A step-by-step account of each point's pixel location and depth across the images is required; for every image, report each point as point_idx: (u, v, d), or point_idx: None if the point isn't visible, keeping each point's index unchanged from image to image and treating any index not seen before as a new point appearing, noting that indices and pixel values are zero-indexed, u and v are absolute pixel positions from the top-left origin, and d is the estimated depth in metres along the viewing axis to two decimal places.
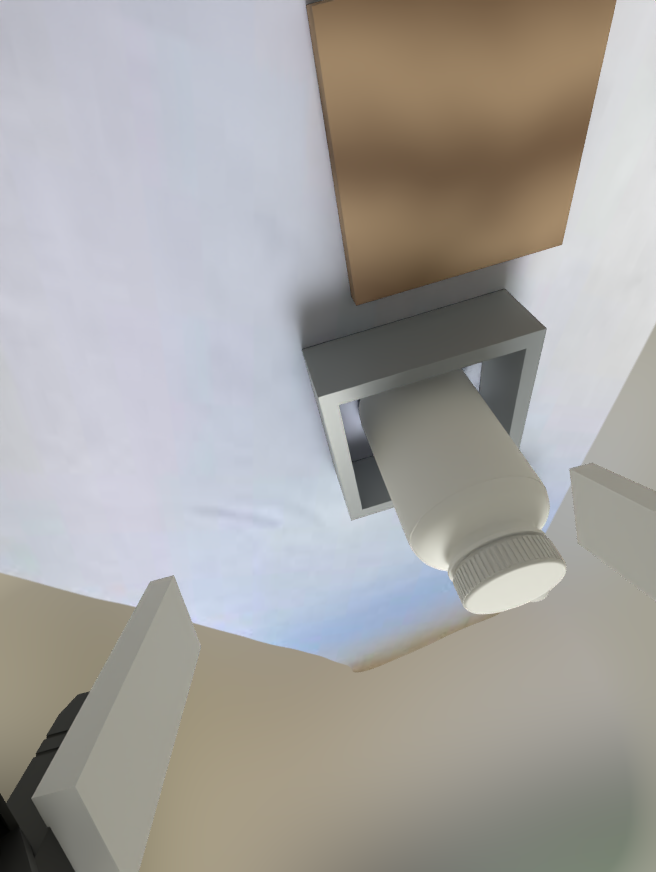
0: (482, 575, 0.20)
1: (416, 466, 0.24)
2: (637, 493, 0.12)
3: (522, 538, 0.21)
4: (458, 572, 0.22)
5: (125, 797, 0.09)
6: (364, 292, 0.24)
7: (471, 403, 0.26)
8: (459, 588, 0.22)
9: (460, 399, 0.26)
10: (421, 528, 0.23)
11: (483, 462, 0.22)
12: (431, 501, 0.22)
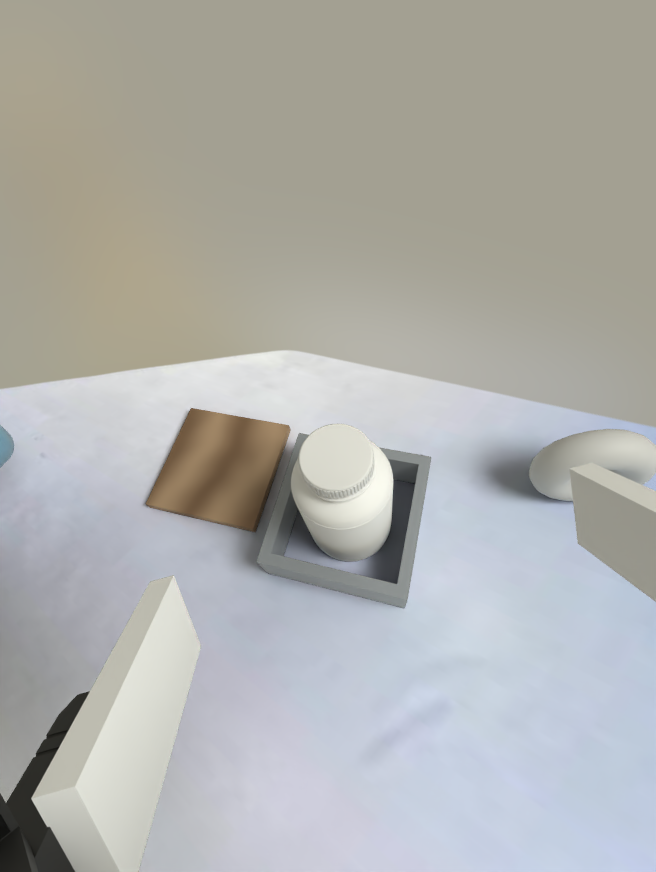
0: (302, 474, 0.30)
1: None
2: (637, 493, 0.12)
3: None
4: (315, 491, 0.31)
5: (125, 797, 0.09)
6: (248, 522, 0.43)
7: None
8: (320, 492, 0.30)
9: None
10: (305, 513, 0.33)
11: None
12: (296, 503, 0.34)
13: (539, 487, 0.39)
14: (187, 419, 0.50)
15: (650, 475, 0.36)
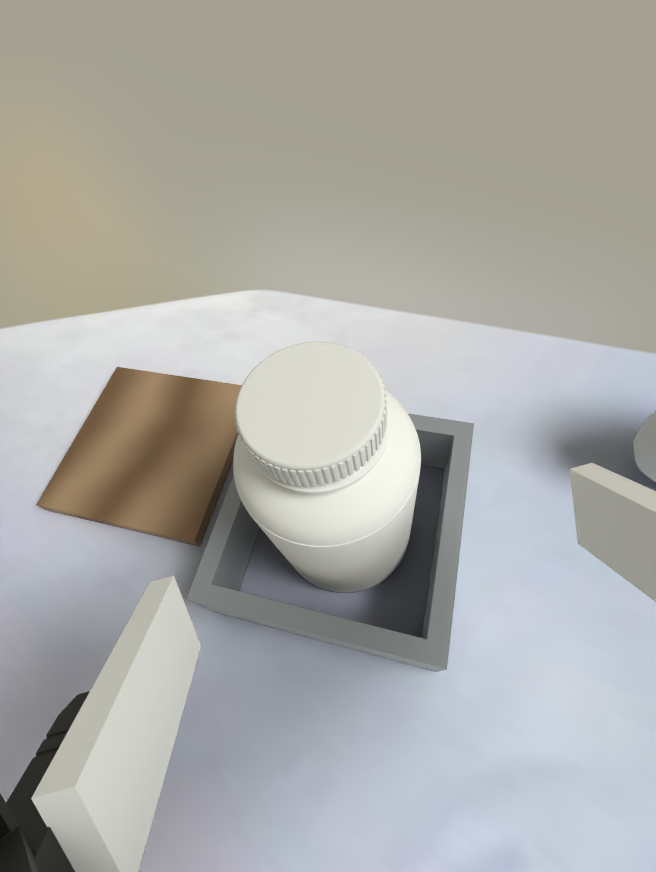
0: None
1: None
2: (637, 493, 0.12)
3: None
4: (268, 473, 0.15)
5: (125, 797, 0.09)
6: (188, 531, 0.28)
7: None
8: (278, 474, 0.15)
9: None
10: (256, 517, 0.17)
11: None
12: None
13: None
14: (110, 382, 0.35)
15: None
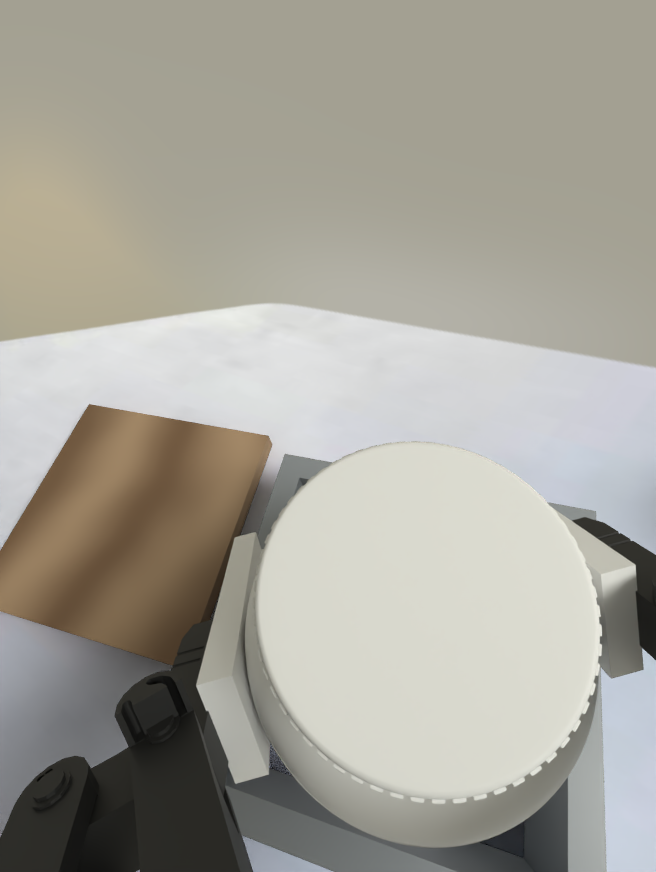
0: None
1: None
2: None
3: None
4: None
5: None
6: (175, 651, 0.20)
7: None
8: None
9: None
10: (291, 771, 0.09)
11: None
12: None
13: None
14: (79, 425, 0.27)
15: None
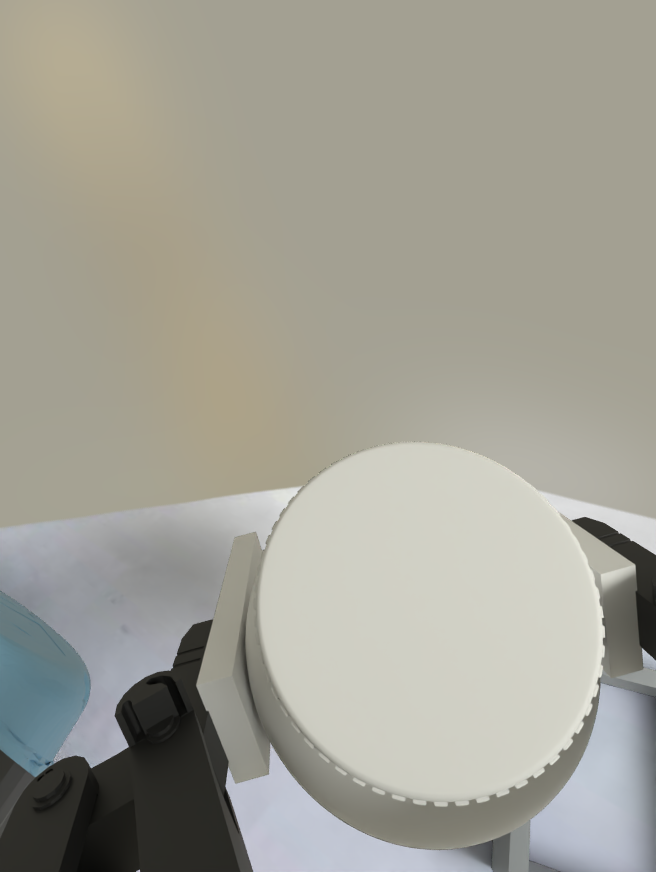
0: None
1: None
2: None
3: None
4: None
5: None
6: None
7: None
8: None
9: None
10: (291, 772, 0.09)
11: None
12: None
13: None
14: None
15: None
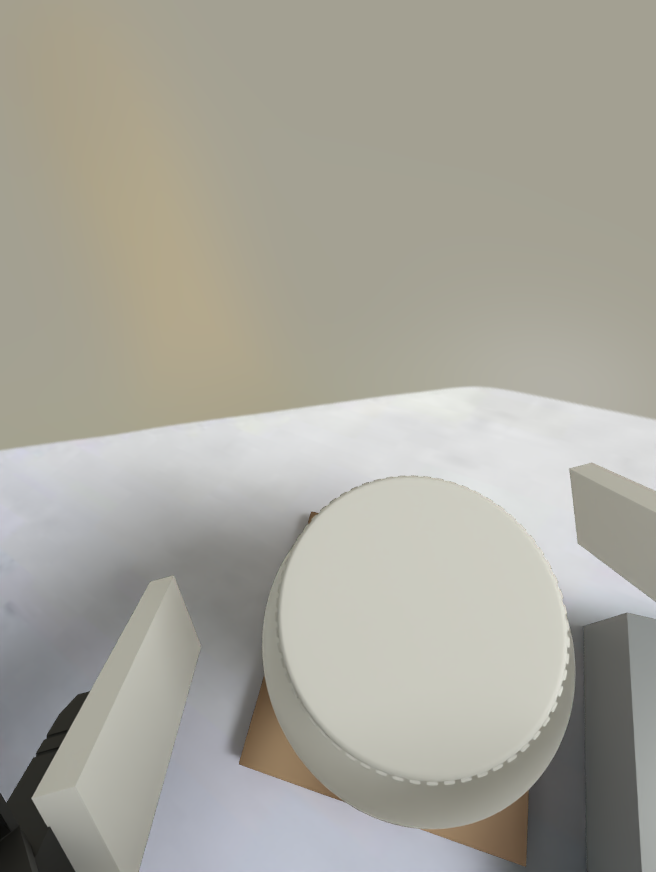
0: None
1: None
2: (637, 493, 0.12)
3: None
4: None
5: (125, 797, 0.09)
6: (509, 842, 0.17)
7: None
8: None
9: None
10: (305, 762, 0.10)
11: None
12: None
13: None
14: None
15: None
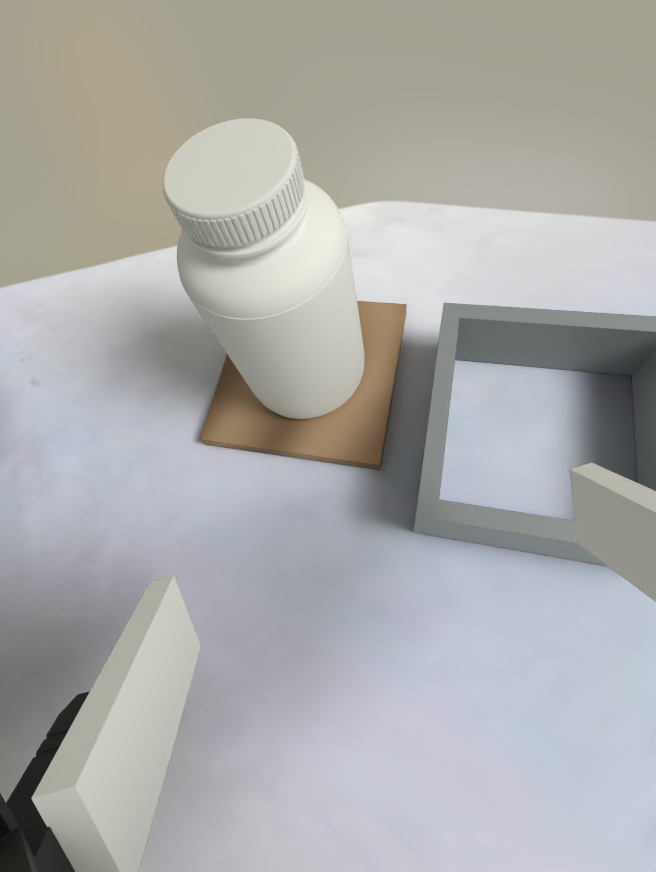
0: (170, 205, 0.17)
1: None
2: (637, 493, 0.12)
3: None
4: (198, 239, 0.17)
5: (125, 797, 0.09)
6: (370, 455, 0.27)
7: None
8: (203, 231, 0.16)
9: None
10: (198, 299, 0.19)
11: None
12: None
13: None
14: None
15: None
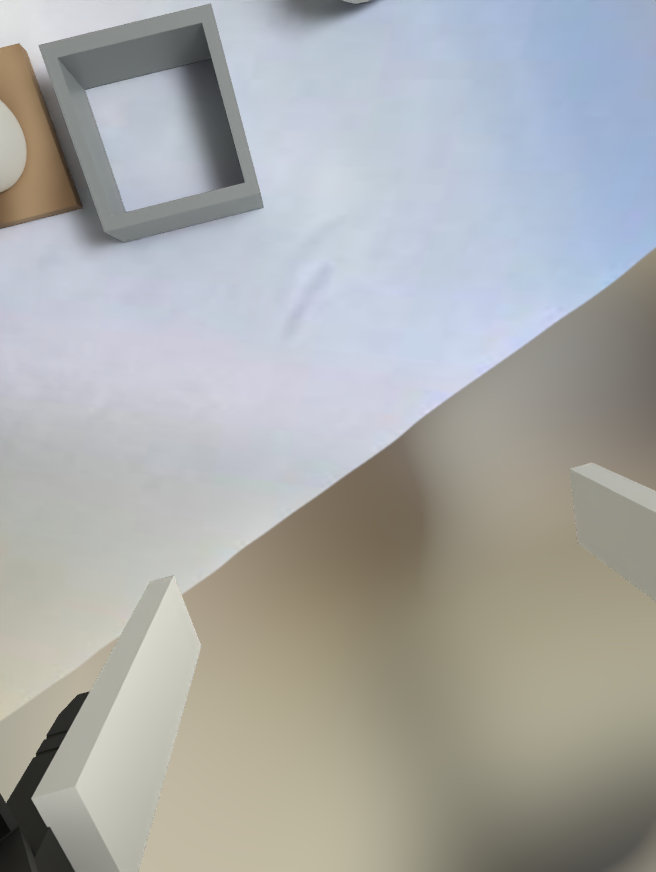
0: None
1: None
2: (637, 493, 0.12)
3: None
4: None
5: (125, 797, 0.09)
6: (67, 200, 0.38)
7: None
8: None
9: None
10: None
11: None
12: None
13: None
14: None
15: None
